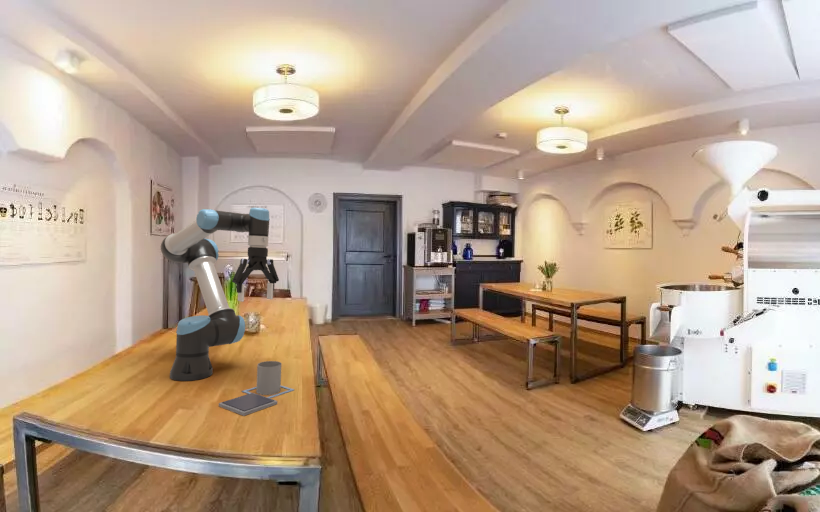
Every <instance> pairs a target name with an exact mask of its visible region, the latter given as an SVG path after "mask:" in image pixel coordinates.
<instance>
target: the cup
mask: <svg viewBox="0 0 820 512" xmlns="http://www.w3.org/2000/svg"><path fill="white" fill-rule="evenodd" d="M256 367H257V369H256V387H257V388H256V389H255V390H256V391H255V394H258V395H261V396H273V395H276V394H279V393H281V387H280V386H282V385H281V381H282V380H281V379H282V362H280V361H276V360H270V361H268V360H267V361H261V362H259V363H257V366H256Z"/></svg>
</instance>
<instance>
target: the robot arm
mask: <svg viewBox="0 0 820 512" xmlns="http://www.w3.org/2000/svg"><path fill="white" fill-rule="evenodd" d="M269 230H270V211H269V209H267V208H264V207H263V208H262V207H251V208H250V209H249V212H248V213H241V212H239V213H238V212H234V211H233V212H232V211H222V210H215V209H210V208H209V209H208V208H207V209H200V210H199V211H198V213H197V214H196V220H195V221H193V222H192V223H190V224H188V225H186V226H184V228H182V229H180V230H179V231H177V232H176V233H171V234H169V235H167V236H165V238H163V240H162V241H161V243H160V252H161V254H162V256H163V257H164V258H165V259H167V260H168V261H170V262H173V263H177V264H179V263H180V264H187V265H188V268H189V269H190V270H191V271H193V272H194V275H195V277H196V280H197V283H198V286H199V289H200V292H201V295H202V299H203V301H204V304H205V308H206V310H207V314H208V315H203V314H201V315H193V316H189V317H185V318H182V319H181V320H179V321H178V323H177V327H176V341H175V343H176V344H175V358H174V361H173V363H172V366H171V369H170V372H169V379H171V380H172V381H173V380H174V381H180V382H188V381H189V382H190V381H198V380H202V379H206V378H208V377H210V376H212V375H213V369H214V368H213V365H212V362H211V360H210V356H209V355H210V353H209V350H210V348H211V347H217V346H219V347H220V346H224V345H231V344H235V343H238V342H240V341H241V340H242V339H243V337H244V335H245V332H246V322H245V319H244V317H243V316H241V315H239V314H238V315H236V312H235V309H234V308H231V307H230V306H229V304H228V299H227V297H226V295H225V292H224V289H223V286H222V284H221V280H220V277H219V275H218V271H217V269H216V266H215V265H216V264H217V261H218V259H219V255H220V254H219V248H218V245H217V244H216V242H215V241H214V240H213V239H210V238H208V237H209V236H210V235H213V234H214V233H215V232H217V231H227V232H228V231H229V232H236V233H248V239H247V241H248V242H247V246H248V247H247V257H248V258H240V262H239V265H238V267H237V270H236V271H235V273H234V276H233V278H232V281H231V282H232V283H234V284H236V293H237V302H244V301H245V284H244V283H245V281H246V280H247V279H248V278H249V276H250V275H251V273H252V272H254V271H261V272H262V273H263V275H264V276H265V278H266V279H267V281H268V282H266V283H267V284H266V300H267V299H268V300H273V297H274V296H273V295H274V291H275V284H276V283H277V282H279V281H280V279H279V275H278V274H277V269H276V267H275V266H274V265H275V264H274V259H273V258H272V259H271V258H267V257H268V256H269V255H268V254H269V253H268V252H269V248H267V247H268V246H269V235H270V234H269V233H270V231H269Z"/></svg>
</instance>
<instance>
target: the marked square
mask: <svg viewBox="0 0 820 512" xmlns="http://www.w3.org/2000/svg"><path fill="white" fill-rule="evenodd" d="M256 388H257V386H255V387H251V388H248V389H244V390H241V392H242V393H243V394H244V393H245V394H246V395H247V394H250V393H252V392H251V391H254V390H256ZM280 389H285V390H284V391H282V392H278V393H276V394H272V395H269V396H266V397H267V398H270V399H273V398H276V397H278V396H279V397H280V396H281V395H285V394H287V393H290V392H294V391H295V388H290V387H288V386H285V385H281V386H280Z"/></svg>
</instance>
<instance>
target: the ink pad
mask: <svg viewBox="0 0 820 512" xmlns="http://www.w3.org/2000/svg"><path fill="white" fill-rule="evenodd" d="M267 397H268V396H265V395H261V394H258V393H256V392H251V393H250V394H247V393H246V394H244V395H241V396H238V397H235V398H231V399H228V400H224V401H222V402H219V403H218V407H219V408H221V409H225V410H227V411H230V412H232V413H235V414H238V415H240V416H243V417H245V416H247V415H250V414H253V413H256V412H259V411H261V410H265V409H267V408H270V407H272V406H276V405H278V400H275V399H273V398H267Z"/></svg>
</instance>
